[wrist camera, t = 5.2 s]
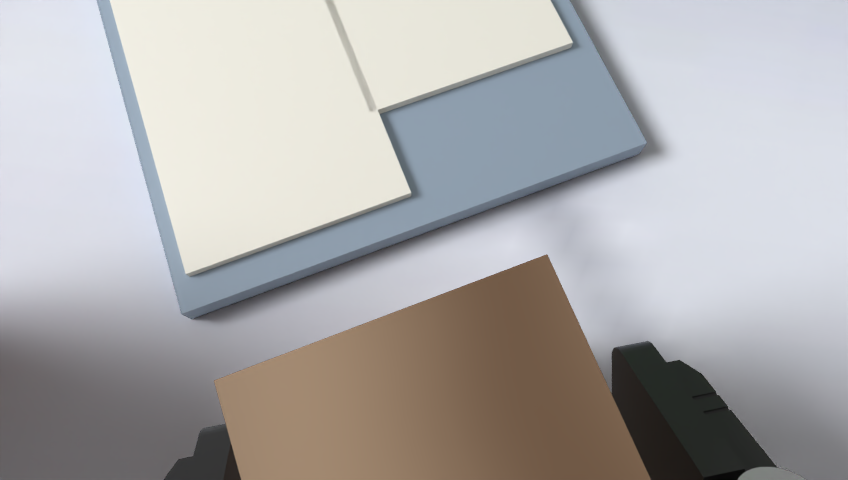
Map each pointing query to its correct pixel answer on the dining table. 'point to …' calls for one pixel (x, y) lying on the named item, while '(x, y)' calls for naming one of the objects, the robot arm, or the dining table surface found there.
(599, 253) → the dining table surface
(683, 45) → the dining table surface
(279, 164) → the board
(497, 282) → the walnut block
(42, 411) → the dining table surface
